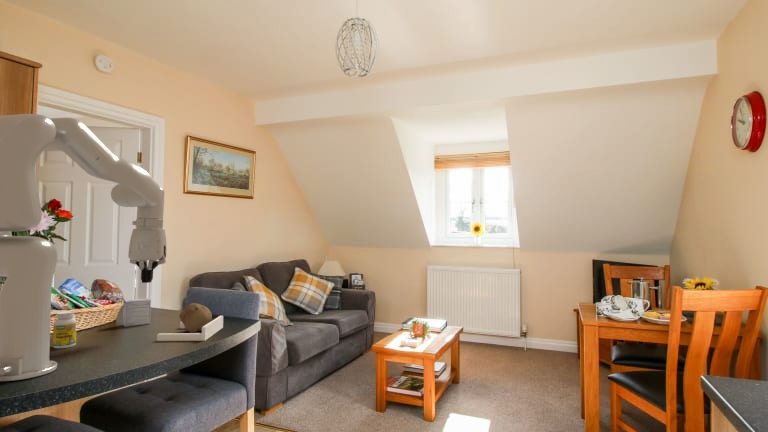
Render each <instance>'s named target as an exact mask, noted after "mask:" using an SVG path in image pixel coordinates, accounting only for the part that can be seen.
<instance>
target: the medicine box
mask: <svg viewBox="0 0 768 432" xmlns="http://www.w3.org/2000/svg"><path fill="white" fill-rule="evenodd" d="M151 300H152V299H150V298H148V297H146V298H145V297H144V298H134V299H124V300H123V304H122V305H123V307H122V308H123V310H122V321H123V322H122V325H123V326H124V327H125V328H126V327H134V326H135V327H136V326H141V325H142V326H143V325H149V324H151V308H152V306H151V303H152V301H151Z"/></svg>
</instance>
